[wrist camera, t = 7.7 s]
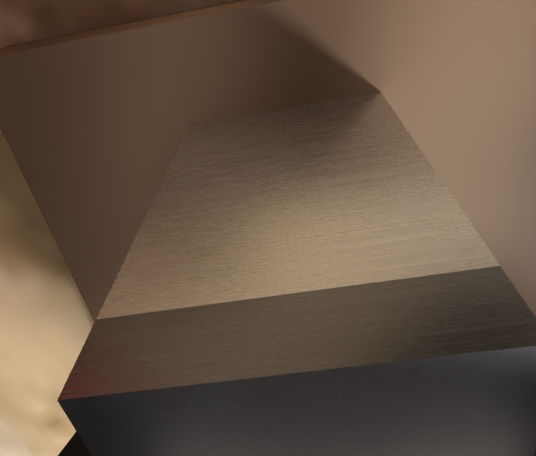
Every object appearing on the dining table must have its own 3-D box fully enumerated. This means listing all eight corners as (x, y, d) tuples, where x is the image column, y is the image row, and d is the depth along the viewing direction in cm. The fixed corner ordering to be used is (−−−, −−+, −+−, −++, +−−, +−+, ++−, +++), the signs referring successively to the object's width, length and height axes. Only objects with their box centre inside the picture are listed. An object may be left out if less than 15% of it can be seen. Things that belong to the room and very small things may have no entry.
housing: (381, 91, 10) (553, 343, 4) (400, 411, 15) (485, 737, 9) (189, 124, 10) (57, 400, 4) (273, 424, 15) (269, 743, 9)
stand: (564, -62, 9) (610, -64, 8) (507, 401, 17) (527, 440, 15) (6, 46, 11) (-32, 61, 9) (175, 433, 18) (167, 471, 16)
